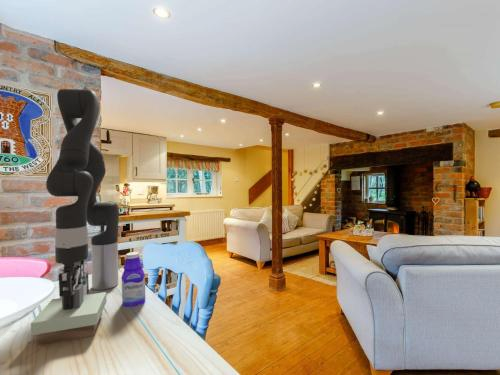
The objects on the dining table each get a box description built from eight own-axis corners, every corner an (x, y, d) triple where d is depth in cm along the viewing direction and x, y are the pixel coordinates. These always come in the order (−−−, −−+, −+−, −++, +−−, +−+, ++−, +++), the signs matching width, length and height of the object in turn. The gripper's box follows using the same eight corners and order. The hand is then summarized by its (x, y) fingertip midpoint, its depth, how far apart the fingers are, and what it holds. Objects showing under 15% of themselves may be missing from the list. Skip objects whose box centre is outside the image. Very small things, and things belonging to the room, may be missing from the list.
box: (55, 323, 76) (55, 303, 76) (102, 316, 80) (102, 297, 80) (38, 348, 65) (37, 324, 64) (93, 338, 69) (93, 315, 69)
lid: (52, 309, 76) (52, 282, 76) (106, 301, 81) (106, 276, 81) (31, 335, 63) (30, 302, 63) (96, 324, 68) (96, 293, 68)
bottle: (122, 310, 83) (121, 256, 83) (121, 303, 88) (120, 252, 88) (146, 305, 87) (145, 253, 86) (144, 299, 92) (143, 250, 91)
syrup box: (74, 313, 82) (74, 267, 82) (59, 311, 83) (58, 266, 83) (89, 305, 87) (88, 262, 87) (74, 303, 89) (73, 261, 88)
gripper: (64, 239, 77) (65, 294, 78) (45, 250, 64) (46, 318, 64) (93, 237, 80) (94, 291, 80) (80, 248, 66) (81, 312, 67)
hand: (73, 302), depth 72 cm, fingers open, 6 cm apart
